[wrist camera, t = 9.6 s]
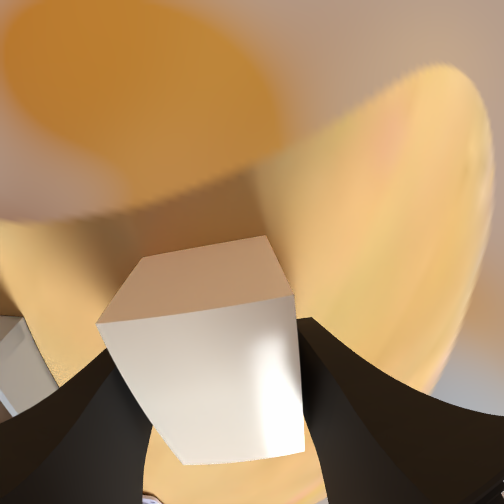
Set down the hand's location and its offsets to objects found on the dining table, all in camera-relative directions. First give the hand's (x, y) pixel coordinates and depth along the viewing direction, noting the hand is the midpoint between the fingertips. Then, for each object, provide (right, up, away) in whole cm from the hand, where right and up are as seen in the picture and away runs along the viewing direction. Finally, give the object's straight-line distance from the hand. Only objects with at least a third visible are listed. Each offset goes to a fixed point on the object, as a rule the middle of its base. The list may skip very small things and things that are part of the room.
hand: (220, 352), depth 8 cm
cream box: (0, +1, +1) cm, 2 cm away
